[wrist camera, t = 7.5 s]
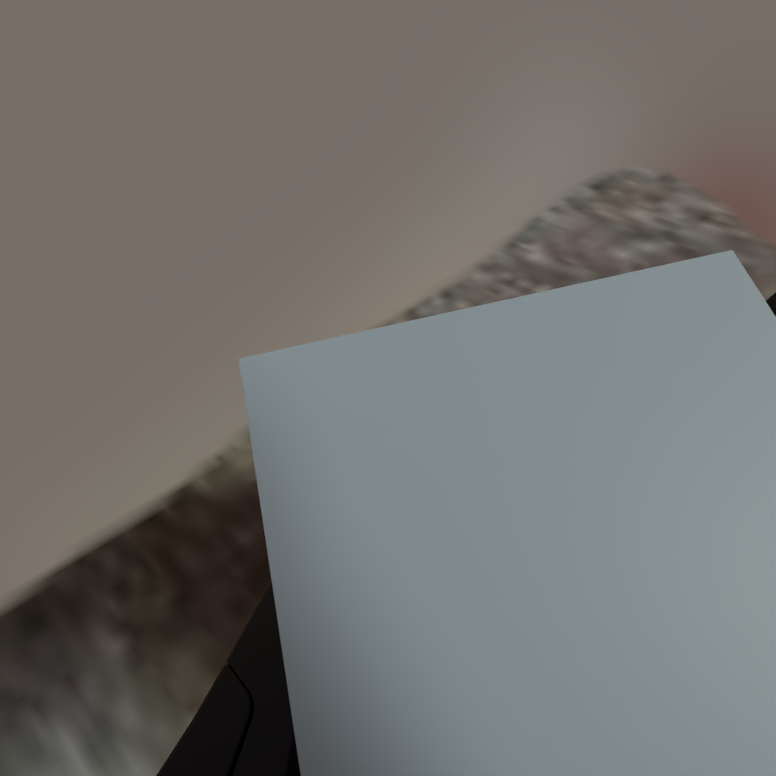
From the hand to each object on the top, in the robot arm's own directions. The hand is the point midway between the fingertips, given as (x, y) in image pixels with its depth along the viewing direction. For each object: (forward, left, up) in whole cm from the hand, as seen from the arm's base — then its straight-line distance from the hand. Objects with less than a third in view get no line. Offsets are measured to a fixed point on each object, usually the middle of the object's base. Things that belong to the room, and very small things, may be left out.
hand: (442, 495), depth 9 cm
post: (-1, +1, -7) cm, 7 cm away
